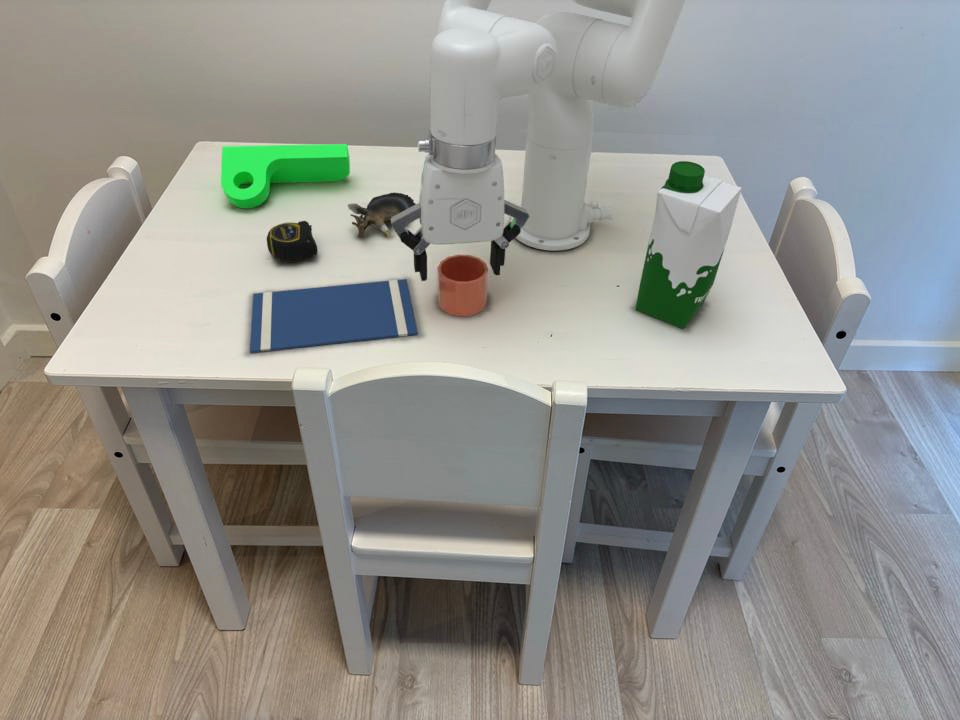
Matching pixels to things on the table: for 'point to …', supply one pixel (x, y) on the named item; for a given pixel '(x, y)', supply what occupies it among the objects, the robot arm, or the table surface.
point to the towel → (331, 315)
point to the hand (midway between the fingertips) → (459, 272)
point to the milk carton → (685, 243)
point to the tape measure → (291, 242)
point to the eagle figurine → (380, 211)
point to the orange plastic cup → (462, 285)
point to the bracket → (278, 168)
